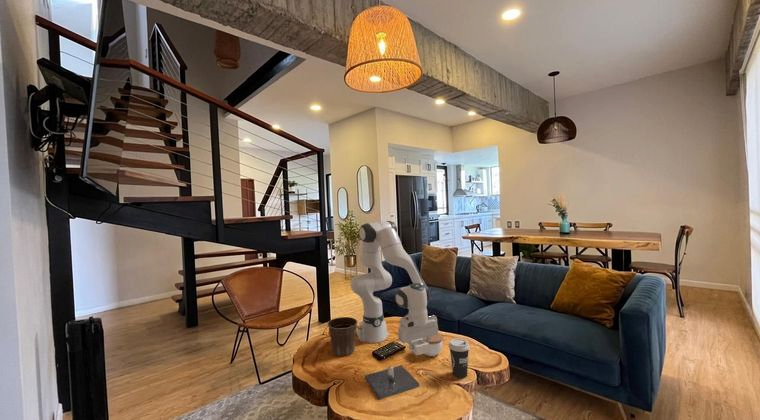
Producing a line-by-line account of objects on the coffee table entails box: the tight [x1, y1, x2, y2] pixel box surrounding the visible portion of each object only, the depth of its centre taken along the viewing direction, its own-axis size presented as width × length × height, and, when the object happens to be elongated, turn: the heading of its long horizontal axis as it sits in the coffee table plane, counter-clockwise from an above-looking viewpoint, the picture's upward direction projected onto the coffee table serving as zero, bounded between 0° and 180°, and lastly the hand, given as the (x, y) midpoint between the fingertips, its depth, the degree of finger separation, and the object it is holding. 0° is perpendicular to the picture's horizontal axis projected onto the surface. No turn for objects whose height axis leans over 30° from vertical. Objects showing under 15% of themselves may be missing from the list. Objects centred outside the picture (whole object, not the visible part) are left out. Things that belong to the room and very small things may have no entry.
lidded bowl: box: [422, 332, 444, 357], centre depth 169 cm, size 13×13×11 cm
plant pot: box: [327, 316, 358, 357], centre depth 176 cm, size 16×16×16 cm
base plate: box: [364, 365, 420, 400], centre depth 144 cm, size 17×19×7 cm
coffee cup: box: [448, 337, 471, 379], centre depth 148 cm, size 10×10×15 cm
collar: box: [410, 338, 429, 356], centre depth 153 cm, size 7×7×4 cm
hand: (419, 347), depth 153 cm, fingers closed on collar, 7 cm apart
